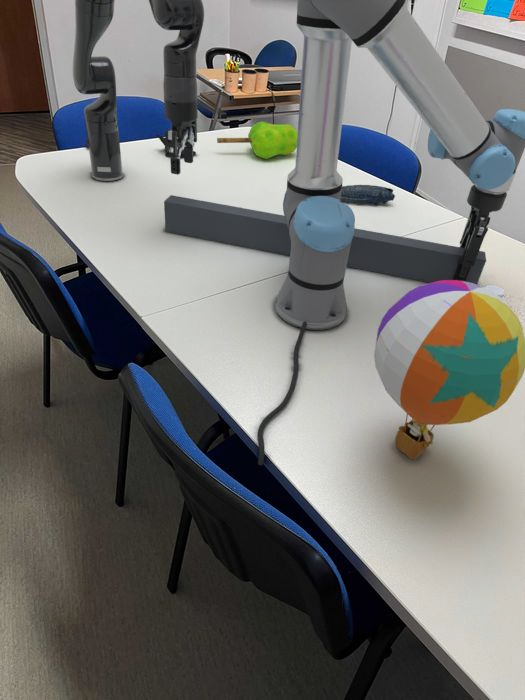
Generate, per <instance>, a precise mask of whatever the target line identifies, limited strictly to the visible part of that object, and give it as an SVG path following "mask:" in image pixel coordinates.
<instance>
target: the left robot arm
mask: <svg viewBox="0 0 525 700" xmlns="http://www.w3.org/2000/svg"><path fill="white" fill-rule="evenodd" d="M148 3H149V6H150V10H151V13H152V17H153V19H154V21H155V23H156V24H157V25H158V26H159V27H161V28H162V29H163V30H166V31H178V34H177V37H176V39H174V40H173V41H170V42H168V43H166V44H165V45H164V46H163V57H162V58H163V104H164V105H163V106H164V118H165V119H166V120H168V121H169V122H171V125H170V130H169V129H165V131H164V138H165V145H164V149H165V150H164V153H165V154H164V155H165V158H169V159H170V174H172V175H177V176H178V175H180V174H181V173H182V172H181V169H182V168H181V157H180V155H181V151H182V150H183V149H184V157H183V161H184V163H187V164H192V163H193V162H194V155H193V151H194V147H195V143H197V142H198V125H197V124H198V123H197V121H198V114H199V113H198V107H199V106H198V104H199V103H198V81H197V52H198V49H199V45H200V39H201V35H202V31H203V27H204V21H205V8H204V3H203V0H148ZM74 10H75V11H74V12H75V13H74V14H75V16H74V17H75V18H74V19H75V30H74V31H75V34H74V45H73V46H74V47H73V56H72V79H73V83H74V87H75V89H76V90H77V91H78V93H80V94H82V95H98V94H99V96H98V98H97V99H96V100H94V101H93V102H91V103H89V104H87V105H86V106H85V107H84V109H83V115H84V123H85V129H86V130H85V131H86V137H87V138H86V141H85V143H84V145H85V147H86V148H87V149H88V153H89V154H88V155H89V161H90V168H91V177H92V178H93V179H94V180H96V181H101V182H114V181H118V180H120V179H122V178H123V177H124V172H123V165H122V164H123V163H122V152H121V142H120V132H119V131H120V130H119V122H118V121H119V120H118V101H117V81H116V80H117V78H116V70H115V67H114V64H113V62H112V60H111V59H110V58H109V57H108V56H104V55H103V56H102V55H98V56H97V55H95V56H92V55H93V51H94V49H95V47H96V45H97V43H98V42H99V41H100V39H101V38H102V36H103V35H104V34H105V33H106V31H107V30H108V28H109V26H110V25H111V23H112V21H113V18H114V12H115V0H74ZM184 146H185V147H184ZM169 147H170V150H169ZM177 149H178V151H177Z"/></svg>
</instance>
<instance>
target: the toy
mask: <svg viewBox="0 0 525 700" xmlns="http://www.w3.org/2000/svg"><path fill="white" fill-rule="evenodd" d="M373 358H374V359H373V360H374V367H375V369H376V371H377V374H378V376H379V379H380V381H381V383H382V385H383V388H384V390H385V392H386V393H387V394H388V395H389V396H390V398H391V399H392V400H393V401H394V402H395V404H396V405H397V406H398V407H400V408H401V409H402V410H403V411H404V412H405V413H406V417H405V422H404V425H400V426H398V431H397V432H396V435H395V440H394V446H395V447H396V449H398V450H399V451H400V452H401V453H402V454H404V455H406V456H407V457H408V458H409V459H410V460H416V459H417V458H418V457H419V456H421V454H423V453H424V452H425V451H427V449H428V448H429V447H430V445H433V443H434V442H433V440H434V438H435V437H434V433H433V432H432V430H433V429H434V427H435V426H444V425H445V426H446V425H458V424H466V423H472V422H474V421H475V420H478V419H480V418H482V417H484V416H486V415H489V414H491V413H493V412H495V411H497V410H498V409H500V408H501V407H502V406H503V405H504V404H506V403H507V402H508V400H509V399H510V397H511V396H512V394H513V393H514V391H515V390H516V388H517V387H518V385H519V383H520V382H521V380H522V379H523V376H524V373H525V334H524V329H523V325H522V323H521V321H520V319H519V317H518V315H517V313H516V312H515V311H513V309H512V308H511V307H510V305H508V304H507V302H506V301H505V300H504V299H503V297H502V298H501V297H500V296H498V295H496V294H495V293H493V292H492V291H490V290H489V289H486V288H485V286H482V285H479V284H478V283H477V284H474V283H470V282H465V281H459V280H441V281H436V282H432V283H430V282H428V283H426V284H422V285H419V286H417V287H414V288H413V289H410V290H409V291H408V292H407V293H405V294H404V295H403V296H402V297H401V298H400V299H398V300H397V301H396V302H395V303H394V304H393V305H392V306H391V307H389V309H388V310H387V311H386V313H385V314H384V316H383V317H382V319H381V321H380V324H379V326H378V329H377V335H376V340H375V347H374V353H373ZM408 417H410V418H411V420H410V421H409V422H408ZM428 426H432V427H431V428H430V429H428Z"/></svg>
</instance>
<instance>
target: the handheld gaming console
mask: <svg viewBox="0 0 525 700" xmlns="http://www.w3.org/2000/svg"><path fill="white" fill-rule="evenodd" d="M156 136H157V138H158V139H159V141H160V142H161V143H162V144H163V146H165V136H162V135H160V134H158V133H157V134H156ZM184 147H185V146H184ZM169 150H170V147H169ZM177 151H178V149H177ZM196 154H197V152H196V151H194V150H193V156H196ZM180 158H183V159H184V149H183V150H182V151H181V155H180Z"/></svg>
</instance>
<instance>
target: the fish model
mask: <svg viewBox="0 0 525 700" xmlns="http://www.w3.org/2000/svg"><path fill="white" fill-rule="evenodd" d="M395 197H396V195H395V194H394V189H393V188H389V187H387V186H386V187H385V186H381V185H380V186H379V185H371V184H352V185H342V191H341V199H340V201H341V202H346V203H356V204H369V205H373V206H374V205H375V206H376V205H378V204H381V203H382V204H383V205H386V204H387V203H388V202H390V201H392V202H393V201H394V200H395Z"/></svg>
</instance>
